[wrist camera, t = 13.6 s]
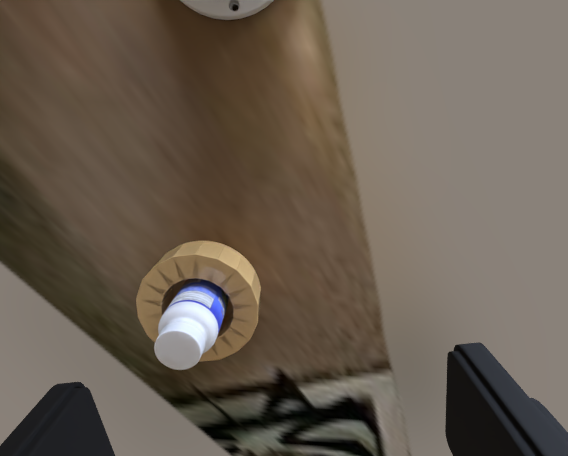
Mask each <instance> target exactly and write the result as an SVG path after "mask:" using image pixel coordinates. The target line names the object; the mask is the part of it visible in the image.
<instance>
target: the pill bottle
mask: <svg viewBox="0 0 568 456" xmlns="http://www.w3.org/2000/svg"><path fill="white" fill-rule="evenodd" d="M228 303H229V296H228V295H227V294H226V293H225V292H224V291H223V289H222V288H221V287H219V286H218V285H216V284H214V283H212V282H210V281H208V280H203V279H198V278H194V279H187V280H186V281H185V283H184V284H183V285H182V287H181V289H180V290H179V292H178V293H177V295H176V296H175V298H174V299H173V301H172V302H171V303H170V305H169V306H168V308H167V309H166V311H165V312H164V314H163V315H162V317H161V319H160V322H159V326H158V333H159V336H158V337H157V339H156V342H155V345H154V350H155V354H156V356H157V358H158V360H159V361H160V362H161V363H162V364H164V365H165V366H167V367H169V368H171V369H175V370H185V369H189V368H191V367H193V366H194V365H196V364H197V363H198V361H199V360H200V358H201V356H202V354H203V353H205V352H207V351H208V350H209V349H210V348H211V347H212V346H213V345H214V343H215V341H216V338H217V336H218V333H219V330H220V327H221V324H222V321H223V318H224V315H225V312H226V309H227V306H228Z"/></svg>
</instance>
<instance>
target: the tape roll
mask: <svg viewBox="0 0 568 456" xmlns="http://www.w3.org/2000/svg"><path fill="white" fill-rule="evenodd" d="M194 278H198V279H203V280H208V281H210V282H212V283H214V284H216V285H218V286H219V287H221V288H222V289H223V291H224V292H225V293H226V294H227V295H228V296H229V303H228V306H227V309H226V312H225V315H224V318H223V321H222V324H221V327H220V330H219V333H218V336H217V338H216V341H215V343H214V345H213V346H212V347H211V348H210V349H209V350H208V351H207V352H205V353H203V354H202V356H201V358H200V360H199V361H200V362H202V361H212V360H220V359H222V358H225V357H227V356H229V355H231V354H234V353H236V352H237V351H239V350H240V349H241V348H242V347H243V346H244V345H245V344H246V343H247V342H248V341H249V340H250V339H251V337H252V335H253V333H254V330H255V328H256V326H257V324H258V318H259V312H260V305H261V286H260V282H259V278H258V276H257V273H256V272H255V270H254V268H253V267H252V265H251V264H250V263H249V261H248V260H247V259H246V258H245V257H244V256H243V255H241V254H240V253H239V252H237V251H236V250H234V249H232V248H231V247H228V246H226V245H224V244H220V243H217V242H212V241H193V242H188V243H184V244H181V245H179V246H177V247H175V248H173V249H172V250H170V251H168V252H167V253H166V254H165V255H164V256H163V257H162V258H161V259H160V260H159V262H158V263H157V264H156V265H155V266H154V267H153V268H152V269H151V271H150V272H149V273H148V274H147V275H146V276H145V277H144V279H143V280H142V281H141V285H140V288H139V291H138V294H137V297H136V303H137V313H138V318H139V320H140V322H141V324H142V326H143V328H144V330H145V332H146V334H147V335H148V336H149V337H150V338H151V339H152V340H153V341H154V342H156V339H157V337H158V336H159V333H158V326H159V322H160V319H161V317H162V315H163V314H164V312H165V311H166V309H167V308H168V306H169V305H170V303H171V302H172V301H173V299H174V298H175V296H176V295H177V293H178V292H179V290H180V289H181V287H182V285H183V284H184V283H185V281H186V280H187V279H194ZM199 361H198V362H199Z"/></svg>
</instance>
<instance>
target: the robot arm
mask: <svg viewBox="0 0 568 456" xmlns="http://www.w3.org/2000/svg"><path fill="white" fill-rule="evenodd" d="M180 1H181V2H182V3H184V4H185V5H186V6H187V7H189V8H191V9H192V10H194V11H196V12H197V13H199V14H202V15H205V16H207V17H210V18H214V19H222V20H233V19H242V18H245V17H248V16H251V15H254V14H256V13H257V12H259V11H261V10H262V9H264V8H266V7H267V6H268V5H269V4H271V3H272V2H273V1H274V0H180ZM235 5H236V6H238V10H237V11H233V7H234V6H235ZM447 359H448V360H447V395H446V438H447V442H448V445H449V448H450V450H451V452H452V454H453V456H568V432H567V431H566V430H565V429H564V428H563V427H562V426H561V425H560V423H559V422H558V421H557V420H556V419H555V418H554V417H553V415H552V414H551V413H550V412H549V411H548V410H547V409H546V408H545V407H544V406H543V405H542V404H541V403H540V402H539V401H537V400H535V399H534V398H529V397H528V396H527V394H526V393H525V392H524V391H523V390H522V389H521V387H520V386H519V385H518V384H517V383H516V382H515V381H514V379H513V378H512V377H511V376H510V375H509V374H508V372H507V371H506V370H505V369H504V368H503V367H502V366H501V364H500V363H499V362H498V361H497V360H496V359H495V357H494V356H493V355H492V354H491V353H490V352H489V351H488V349H487V348H486V347H485V346H484V345H483V344H482V343H469V344H460V345H455V347H454V351H452V352H449V353H448V358H447ZM0 456H115V454H114V451H113V449H112V446H111V444H110V441H109V439H108V436H107V434H106V431H105V428H104V426H103V423H102V421H101V418H100V415H99V413H98V410H97V408H96V405H95V402H94V400H93V397H92V395H91V392H90V390H89V389H88V388H87V387H85V386H84V385H83V384H82V383H81V382H74V383H64V384H57V385H55V386H53V387H52V388H51V389H50V390H49V391H48V392H47V393H46V395H45V396H44V397H43V398H42V399H41V400H40V401H39V402H38V404H37V405H36V406H35V407H34V408H33V409H32V410H31V412H30V413H29V414H28V415H27V416H26V417H25V418H24V419H23V421H22V422H21V423H20V424H19V425H18V426H17V427H16V429H15V430H14V431H13V432H12V433H11V434H10V435H9V437H8V438H7V439H6V440H5V441H4V442H3V443H2V444H1V446H0Z"/></svg>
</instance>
